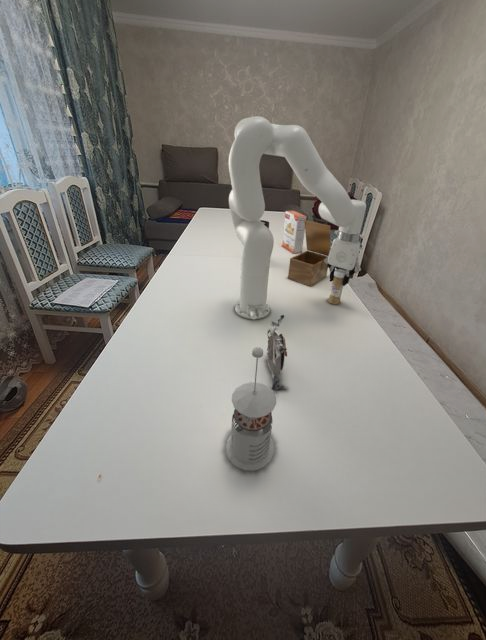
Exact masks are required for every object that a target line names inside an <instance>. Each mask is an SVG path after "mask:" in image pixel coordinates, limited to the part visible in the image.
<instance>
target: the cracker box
mask: <svg viewBox="0 0 486 640" xmlns="http://www.w3.org/2000/svg"><path fill="white" fill-rule="evenodd" d="M284 213H285V214H284V222H283V223H284V224H283V233H282V234H283V235H282V244H281V245H282V246H281V247H283V248H285V249H286V250H288V251H289V252H291V253H292V254H301V253H303V246H304V240H305V234H306V233H305V220H307V218H308V217H307V215H304V214H302V213H300V212H299V211H296V210H286V211H285V212H284Z"/></svg>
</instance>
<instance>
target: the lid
mask: <svg viewBox="0 0 486 640" xmlns="http://www.w3.org/2000/svg"><path fill="white" fill-rule="evenodd" d="M328 223H329V222H328V221H326V220H325V219H320V218H316V220H315V221H312V220H307V219H306V220H305V233H304V234H305V241H306V242H305V244H306V251H310V252H314V253H317V254H321V255H324V256H329V253H330V250H331V246H332V244H331V225H329V224H328Z"/></svg>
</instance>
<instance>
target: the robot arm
mask: <svg viewBox="0 0 486 640" xmlns="http://www.w3.org/2000/svg"><path fill="white" fill-rule="evenodd" d="M233 137H234V139H233V142H232V144H231V147H230V150H229V154H228V173H229V178H230V185H231V190H230V192H229V195H228V206H229V207H228V208H229V211H230V215H231V220H232V224H233V227H234V232H235V234H236V237H237V239H238V241H239V242H240V243H241V244H242V246H243V249H242V250H243V251H242V255H241V262H240V287H239V290H240V291H239V302H236V305H235V306H234V307H235V309H234V310H235V313H236V314H237V315H238V316H240V317H241V318H243V319H249V320H259V319H263V318H265V317H267V316H268V315H269V314H270V311H271V308H270V306H269V304H267V298H268V287H269V275H270V266H271V265H270V263H271V258H272V253H273V249H274V242H275V241H274V236H273V232H272V231H271V230H270V228H269V229H268V228H267V227H266V226H265V225H264V224H263V223H261V221H260V220H261V218H262V217H263V215H264V213H265V209H266V203H265V198H264V192H263V186H262V182H261V175H260V163H261V159H262V156H263V155H269V156H274V157H275V156H276V157H282V158H284V159H285V160H286V162H287V164H289V166H290V168H291V169H292V171H293V173H294V174H295V177H296V178H297V179H298V181H299V182H300V184H301V185H302V187H304V189H306V190H307V191H308V192H309V193H310V194H312V195H313V196H315V197H316V198H317V199H318V200H319V201H321V202H320V203H319V205H318V214H319V216H320V217H321V218H322V220H325V221H328V223H331V224H333V225H335V226H337V227H338V229H337V230H336V229H335V230H334V235H336V237H334V239H333V241H332V244H331V250H330V253H329V256H328V257H327V258H326V259H324V262H325V263H326V264H327V266H328V270H329V276H328V277H329V282H331V283H333V278H334V271H335V270H336V269H337V268H338V269H342V270H345V271H346V275H345V276H344V280H343V284H342V285H343V287H345V286H346V285H348V284H349V282H350V278H351V276H352V275H354V274H357V273H359V272H362V268H361V265H360V264H359V256H360V248H361V246H360V245H361V243H360V241H359V240H360V235H361V230H362V226H363V222H364V218H365V214H366V210H367V203H366V202H365V201H363V200H360V199H351V197H350V195H349V194H348V192H347V191H346V189H345V188H344V186H343V185H342V184H341V183H340V182H339V181H338V179H337V178H336V177H335V176H334V175H333V173H332V172H331V171H330V170H329V169H328V168H327V166H326V165H325V163H324V161H323V160H322V158H321V156H320V153H319V152H318V150H317V149H316V147H315V145H314V143H313V141H312V140H311V137H310V136H309V134H308V132H307V131H306V129H305V128H304V127H302V126H300V125H298V124H286V125H285V124H277V123H271V122H270V121H269V120H268V119H267V118H265V117H263V116H259V115H255V116H250V117H245V118H243V119H241V120H240V121H238V122H237V124H236V125H235V128H234V136H233ZM354 268H355V269H354Z"/></svg>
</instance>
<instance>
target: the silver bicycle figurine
mask: <svg viewBox="0 0 486 640" xmlns="http://www.w3.org/2000/svg"><path fill="white" fill-rule="evenodd" d="M284 318H285V315H284V314H280V317H279V319H277V322H275V321H273V320H272V321H271V322H270V327H269V329H268V330H267V334H266V335H267V339H268V340H267V349H266V351H267V353H266V354H267V357H268V358H269V360H266V363H267V367H268V368H269V371H270V374H271V378H272V380H273V381H272V388H271V389H272V390H273V391H286V390H287V389H286V388H285V386H284V385H282V384H279V383H280V380H278V377H277V375H278V376H280V375H281V371H282V370H283V368H284V365H285V358H286V357H288V352H287V349H288V348H287V343H286V339H285V336H284V334H283V333H279V334H278V333H277V332H276V330H278V328H279V327H280V324H281V323H282V322H283V319H284ZM269 334H270V335H269Z"/></svg>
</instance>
